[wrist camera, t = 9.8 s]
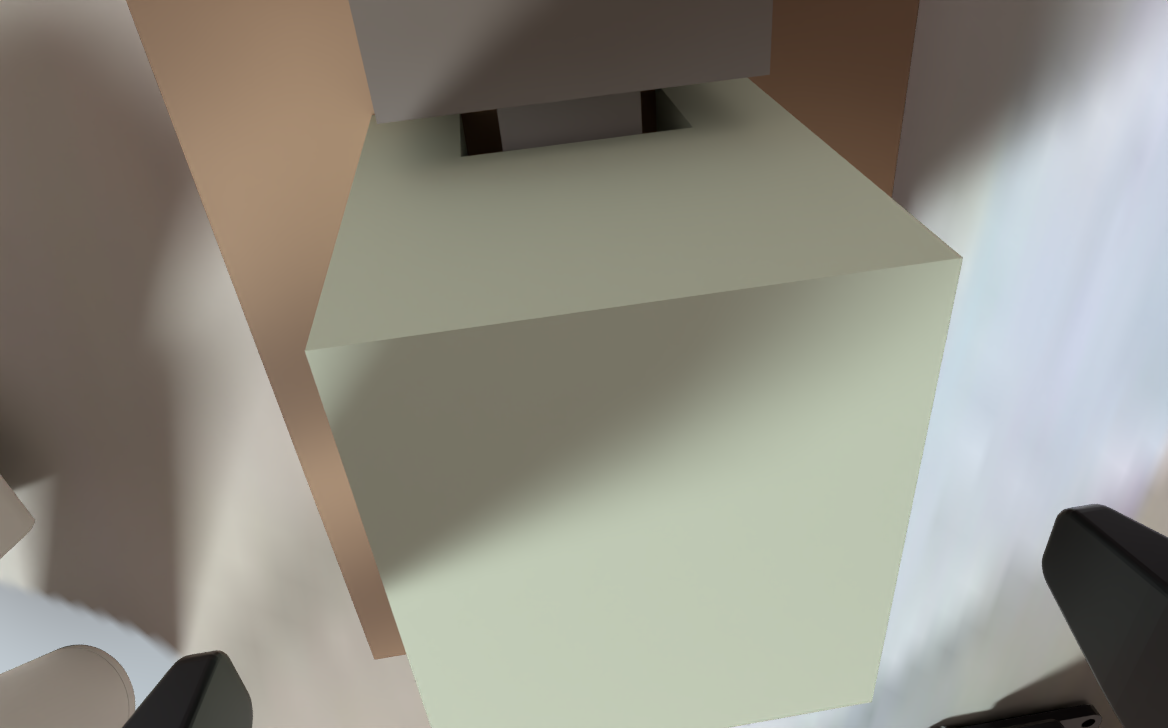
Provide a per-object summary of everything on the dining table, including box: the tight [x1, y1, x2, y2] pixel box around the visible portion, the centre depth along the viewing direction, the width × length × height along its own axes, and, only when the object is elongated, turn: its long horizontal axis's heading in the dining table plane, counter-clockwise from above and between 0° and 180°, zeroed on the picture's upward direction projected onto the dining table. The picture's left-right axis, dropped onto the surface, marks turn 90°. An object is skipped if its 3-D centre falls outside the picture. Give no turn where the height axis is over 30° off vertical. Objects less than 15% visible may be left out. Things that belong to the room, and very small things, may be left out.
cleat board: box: [126, 0, 920, 659], centre depth 15 cm, size 16×12×4 cm
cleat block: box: [305, 78, 963, 728], centre depth 12 cm, size 7×6×7 cm
